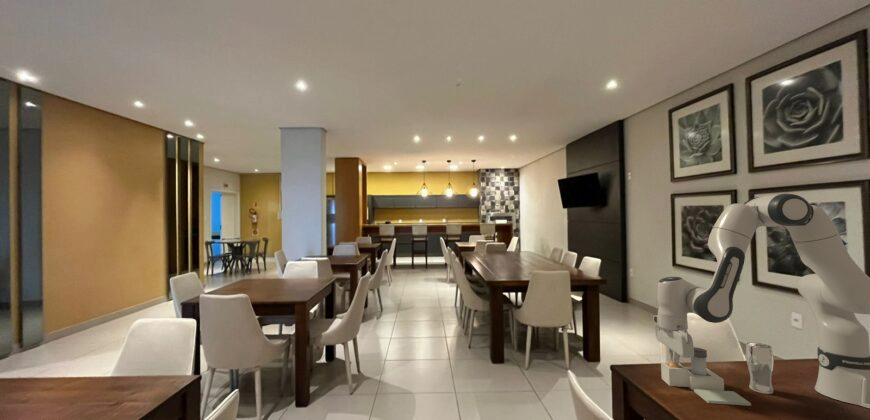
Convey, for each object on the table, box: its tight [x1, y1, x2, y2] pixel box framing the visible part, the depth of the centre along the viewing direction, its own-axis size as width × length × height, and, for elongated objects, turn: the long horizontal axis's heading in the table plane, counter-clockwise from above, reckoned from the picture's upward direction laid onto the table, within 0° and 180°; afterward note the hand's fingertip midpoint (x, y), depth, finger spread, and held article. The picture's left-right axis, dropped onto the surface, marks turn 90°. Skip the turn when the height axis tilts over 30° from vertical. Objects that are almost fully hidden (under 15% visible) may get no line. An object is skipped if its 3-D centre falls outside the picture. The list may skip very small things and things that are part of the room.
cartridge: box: [690, 347, 708, 376], centre depth 126 cm, size 5×5×12 cm
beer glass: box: [745, 341, 774, 395], centre depth 122 cm, size 7×7×15 cm
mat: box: [693, 389, 752, 407], centre depth 116 cm, size 12×8×1 cm, turn 81°
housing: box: [660, 361, 725, 391], centre depth 127 cm, size 16×10×6 cm, turn 81°
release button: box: [668, 361, 680, 368], centre depth 128 cm, size 3×3×4 cm
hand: (674, 361), depth 128 cm, fingers closed
